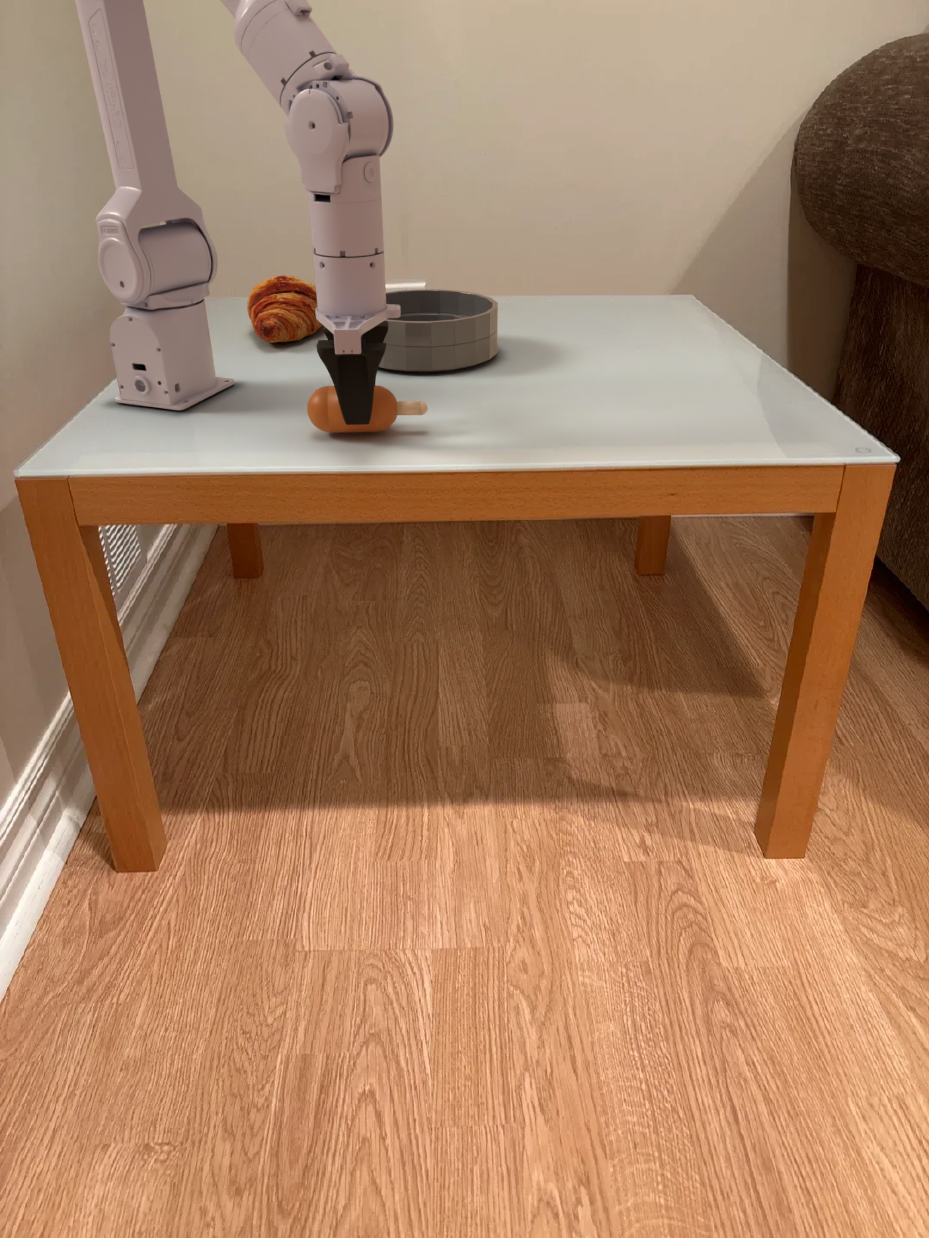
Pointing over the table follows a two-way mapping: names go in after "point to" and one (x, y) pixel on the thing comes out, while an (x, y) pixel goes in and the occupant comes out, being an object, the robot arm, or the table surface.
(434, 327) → the bowl
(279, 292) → the croissant
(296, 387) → the table surface
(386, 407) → the corn dog
